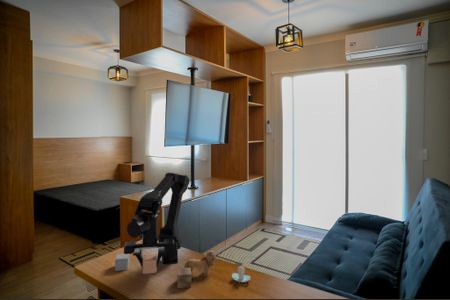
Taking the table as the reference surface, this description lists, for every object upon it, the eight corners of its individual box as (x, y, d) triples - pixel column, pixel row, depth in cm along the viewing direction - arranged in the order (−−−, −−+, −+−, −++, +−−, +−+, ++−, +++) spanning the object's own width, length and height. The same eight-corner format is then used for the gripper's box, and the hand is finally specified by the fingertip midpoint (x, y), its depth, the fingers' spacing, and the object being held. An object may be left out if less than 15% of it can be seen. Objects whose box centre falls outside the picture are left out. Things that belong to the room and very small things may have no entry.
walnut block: (190, 279, 107) (190, 267, 106) (191, 287, 102) (191, 274, 101) (177, 281, 106) (177, 268, 105) (177, 288, 101) (177, 275, 100)
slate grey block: (129, 264, 118) (129, 253, 118) (127, 270, 113) (127, 258, 113) (117, 265, 117) (117, 254, 117) (115, 271, 112) (115, 259, 112)
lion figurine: (213, 268, 116) (213, 247, 115) (217, 274, 111) (218, 253, 110) (179, 274, 110) (179, 253, 110) (182, 281, 105) (182, 258, 105)
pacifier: (235, 275, 111) (230, 282, 106) (235, 260, 111) (231, 266, 105) (252, 278, 109) (248, 286, 103) (253, 263, 109) (249, 269, 103)
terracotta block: (156, 266, 110) (156, 254, 109) (156, 272, 105) (156, 260, 104) (143, 267, 108) (143, 255, 108) (142, 273, 104) (142, 261, 103)
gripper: (174, 220, 115) (173, 256, 116) (127, 222, 111) (127, 259, 112) (174, 229, 104) (174, 269, 105) (123, 232, 101) (123, 273, 102)
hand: (149, 267), depth 107 cm, fingers closed on terracotta block, 5 cm apart
